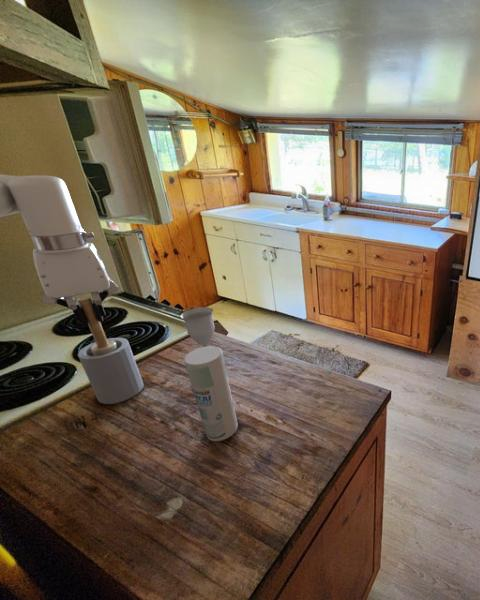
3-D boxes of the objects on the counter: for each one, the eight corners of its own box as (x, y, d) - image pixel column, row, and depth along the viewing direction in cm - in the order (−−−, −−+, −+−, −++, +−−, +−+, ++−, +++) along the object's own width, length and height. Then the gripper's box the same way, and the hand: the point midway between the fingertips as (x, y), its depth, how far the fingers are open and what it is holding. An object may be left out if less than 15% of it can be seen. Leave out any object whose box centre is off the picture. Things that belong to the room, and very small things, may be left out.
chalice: (221, 359, 95) (208, 304, 87) (229, 370, 91) (217, 313, 83) (193, 369, 90) (177, 312, 83) (200, 381, 86) (184, 322, 78)
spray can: (245, 423, 74) (229, 349, 65) (222, 445, 68) (202, 367, 60) (222, 416, 76) (203, 343, 67) (198, 437, 70) (175, 360, 61)
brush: (93, 369, 75) (65, 303, 68) (105, 358, 79) (79, 295, 72) (115, 367, 76) (89, 302, 69) (125, 356, 80) (102, 294, 73)
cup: (88, 405, 77) (67, 360, 71) (111, 381, 85) (93, 339, 79) (132, 401, 78) (114, 357, 73) (150, 378, 86) (135, 336, 81)
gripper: (110, 232, 73) (135, 306, 80) (4, 242, 63) (44, 325, 71) (113, 239, 68) (139, 317, 75) (-2, 251, 58) (41, 339, 66)
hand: (93, 320), depth 73 cm, fingers closed on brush, 2 cm apart
